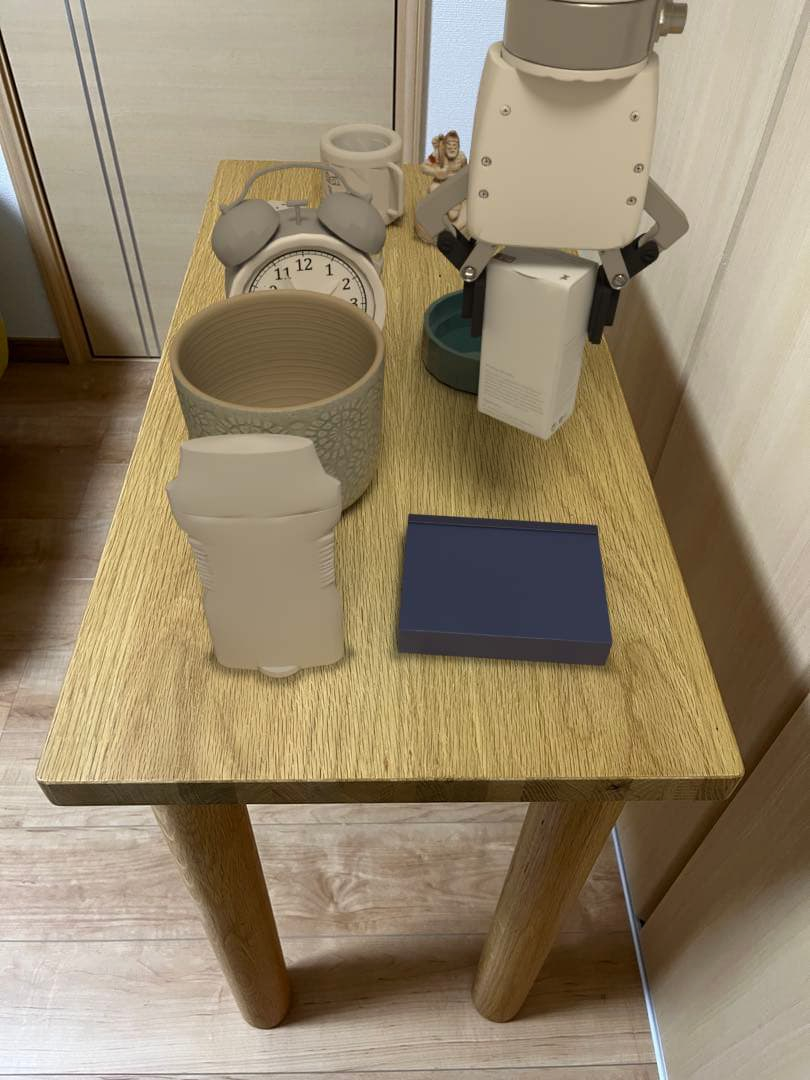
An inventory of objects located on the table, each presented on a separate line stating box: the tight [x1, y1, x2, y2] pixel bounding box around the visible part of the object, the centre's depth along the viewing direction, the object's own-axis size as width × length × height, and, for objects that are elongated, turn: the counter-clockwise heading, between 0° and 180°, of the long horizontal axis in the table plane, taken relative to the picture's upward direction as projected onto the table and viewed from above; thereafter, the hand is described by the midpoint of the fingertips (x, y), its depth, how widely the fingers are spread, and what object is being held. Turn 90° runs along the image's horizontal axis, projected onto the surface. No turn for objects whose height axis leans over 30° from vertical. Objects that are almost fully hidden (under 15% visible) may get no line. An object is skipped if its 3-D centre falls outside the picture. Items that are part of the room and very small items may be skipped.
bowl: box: [421, 288, 483, 395], centre depth 89 cm, size 14×14×4 cm
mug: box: [319, 123, 405, 226], centre depth 109 cm, size 14×11×10 cm
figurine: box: [414, 129, 469, 246], centre depth 104 cm, size 7×7×15 cm
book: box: [397, 513, 613, 667], centre depth 66 cm, size 16×12×3 cm
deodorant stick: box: [164, 434, 345, 679], centre depth 55 cm, size 11×4×22 cm, turn 93°
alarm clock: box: [210, 161, 388, 333], centre depth 80 cm, size 16×9×22 cm, turn 102°
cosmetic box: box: [476, 246, 600, 441], centre depth 55 cm, size 6×4×12 cm
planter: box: [168, 289, 386, 513], centre depth 71 cm, size 17×17×15 cm
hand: (534, 327), depth 55 cm, fingers closed on cosmetic box, 7 cm apart
